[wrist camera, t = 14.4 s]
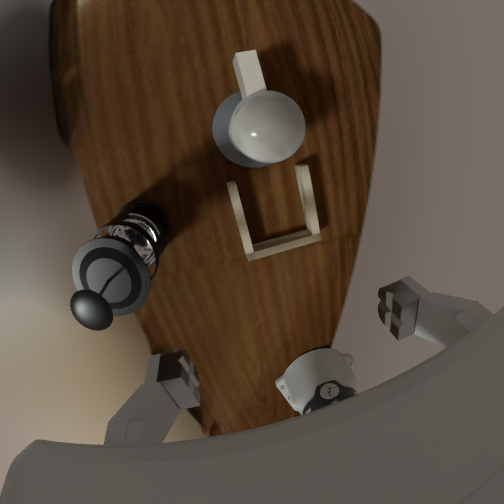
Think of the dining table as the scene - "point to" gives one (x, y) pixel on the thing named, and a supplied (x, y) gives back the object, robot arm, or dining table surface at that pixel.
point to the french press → (118, 266)
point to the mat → (221, 133)
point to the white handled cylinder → (263, 116)
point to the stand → (287, 240)
